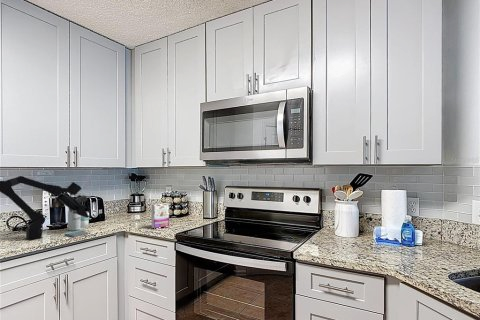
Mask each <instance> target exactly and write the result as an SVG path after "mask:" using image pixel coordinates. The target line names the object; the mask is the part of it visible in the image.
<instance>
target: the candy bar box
mask: <svg viewBox="0 0 480 320" xmlns="http://www.w3.org/2000/svg"><path fill="white" fill-rule="evenodd" d="M166 226H169V227H170V203H156V204H151V229H152V228H159V227H166Z"/></svg>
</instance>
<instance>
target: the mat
mask: <svg viewBox="0 0 480 320" xmlns="http://www.w3.org/2000/svg"><path fill="white" fill-rule="evenodd" d="M87 235H89V232H88V231H82V230H74V231H70V232H66V233H64V237H68V238H78V237H82V236H87Z"/></svg>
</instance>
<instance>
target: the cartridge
mask: <svg viewBox="0 0 480 320" xmlns="http://www.w3.org/2000/svg"><path fill="white" fill-rule="evenodd" d="M86 213H87V214H88V216H89V217H88V218H87V217H84V216H81V225H80V228H83V229H85V228H89V227H90V226H89V222H90V221H89V220H90V212H89V211H86Z"/></svg>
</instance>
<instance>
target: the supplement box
mask: <svg viewBox="0 0 480 320" xmlns="http://www.w3.org/2000/svg"><path fill="white" fill-rule="evenodd" d="M80 225H81V215H78V214H75V213H73V211H72V212H71V211H69V210H68V211H67V230H69V231H71V232H74V231H79V230H83V229H84V228H80Z"/></svg>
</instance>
